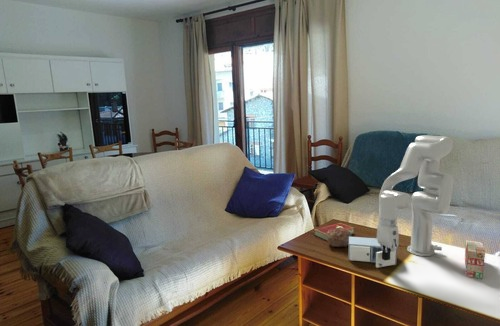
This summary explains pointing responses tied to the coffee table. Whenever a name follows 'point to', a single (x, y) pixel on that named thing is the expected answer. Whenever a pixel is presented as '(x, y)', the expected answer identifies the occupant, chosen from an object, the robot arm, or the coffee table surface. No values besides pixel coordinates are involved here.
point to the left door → (382, 263)
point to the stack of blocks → (474, 259)
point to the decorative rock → (338, 237)
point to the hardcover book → (323, 231)
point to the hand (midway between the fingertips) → (386, 259)
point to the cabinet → (363, 249)
